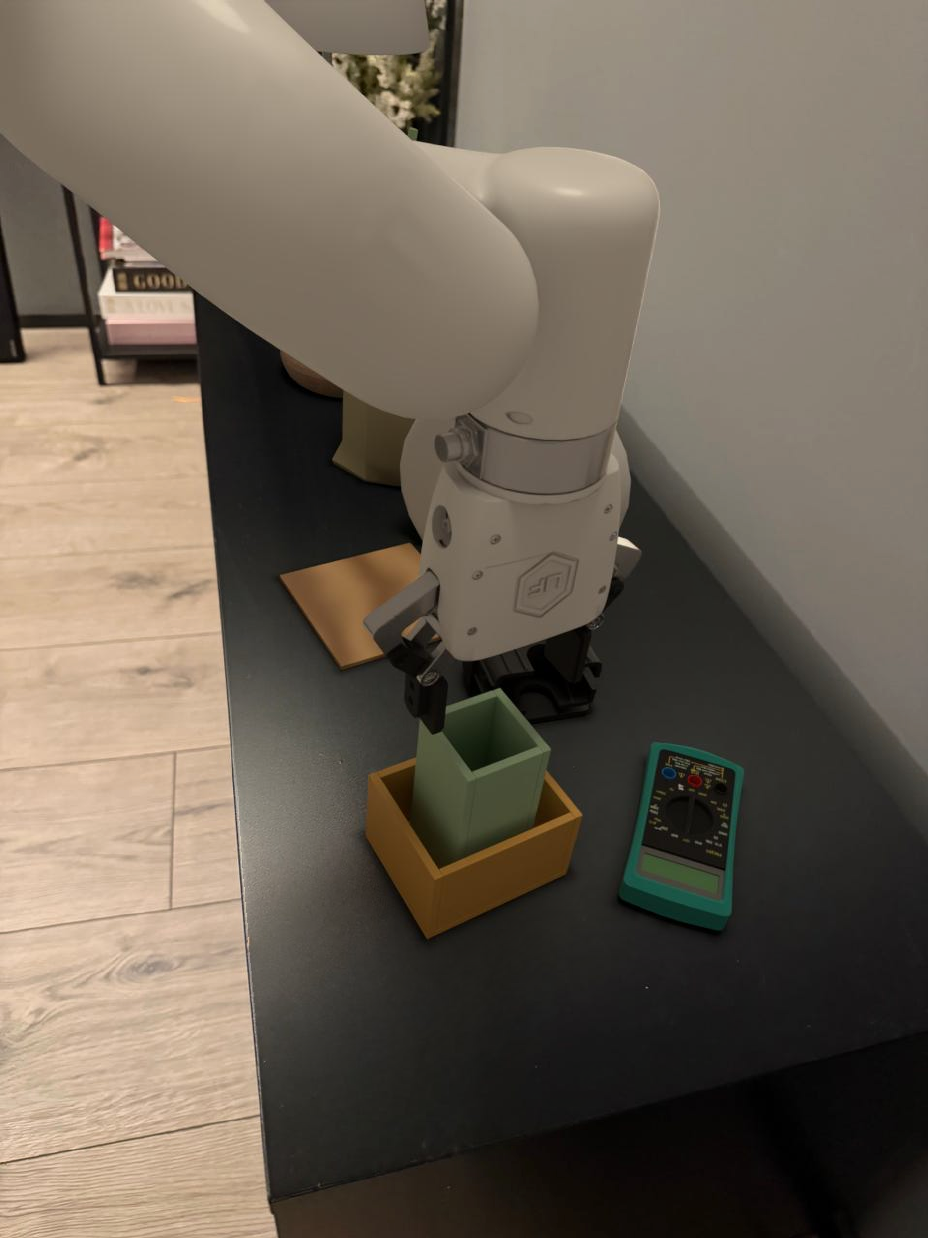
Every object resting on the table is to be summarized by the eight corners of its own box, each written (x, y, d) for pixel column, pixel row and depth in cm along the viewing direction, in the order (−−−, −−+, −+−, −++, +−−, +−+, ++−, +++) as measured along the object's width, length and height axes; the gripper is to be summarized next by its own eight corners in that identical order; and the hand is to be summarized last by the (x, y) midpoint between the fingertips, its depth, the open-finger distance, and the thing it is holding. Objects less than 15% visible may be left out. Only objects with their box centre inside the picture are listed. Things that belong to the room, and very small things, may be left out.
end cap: (563, 658, 83) (576, 599, 78) (594, 714, 78) (610, 654, 73) (457, 673, 80) (464, 612, 76) (482, 731, 75) (492, 670, 70)
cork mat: (341, 670, 79) (341, 666, 78) (279, 579, 88) (279, 574, 87) (480, 627, 85) (481, 623, 85) (410, 546, 94) (410, 542, 93)
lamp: (248, 289, 142) (230, -53, 115) (239, 228, 164) (222, -72, 137) (432, 291, 149) (456, -31, 122) (400, 232, 171) (414, -53, 144)
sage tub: (450, 899, 62) (468, 781, 54) (408, 833, 65) (419, 715, 58) (524, 866, 64) (551, 749, 57) (480, 804, 68) (500, 687, 61)
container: (506, 417, 118) (541, 163, 99) (553, 487, 105) (604, 212, 87) (318, 428, 111) (318, 157, 92) (346, 503, 99) (352, 209, 80)
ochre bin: (426, 940, 60) (434, 880, 56) (365, 835, 66) (368, 774, 62) (566, 874, 65) (583, 815, 61) (497, 783, 71) (508, 723, 67)
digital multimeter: (737, 781, 73) (748, 756, 71) (721, 939, 62) (733, 914, 60) (646, 755, 75) (654, 730, 73) (614, 905, 63) (623, 880, 61)
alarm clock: (611, 575, 93) (656, 394, 81) (582, 613, 88) (625, 425, 76) (431, 504, 100) (447, 327, 88) (394, 535, 95) (405, 352, 82)
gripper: (411, 516, 38) (395, 785, 49) (719, 440, 46) (646, 688, 57) (336, 434, 43) (337, 696, 54) (626, 377, 51) (575, 617, 61)
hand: (495, 692), depth 55 cm, fingers open, 9 cm apart
